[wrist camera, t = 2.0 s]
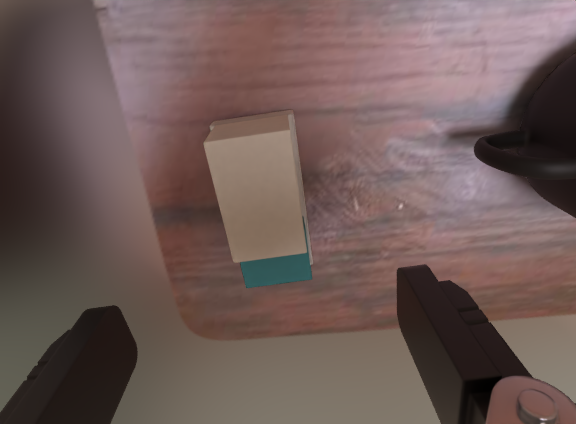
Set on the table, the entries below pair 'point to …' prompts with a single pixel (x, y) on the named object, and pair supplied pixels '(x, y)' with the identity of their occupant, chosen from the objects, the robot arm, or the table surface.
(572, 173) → the mug
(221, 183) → the teal-ended white block
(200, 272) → the table surface
